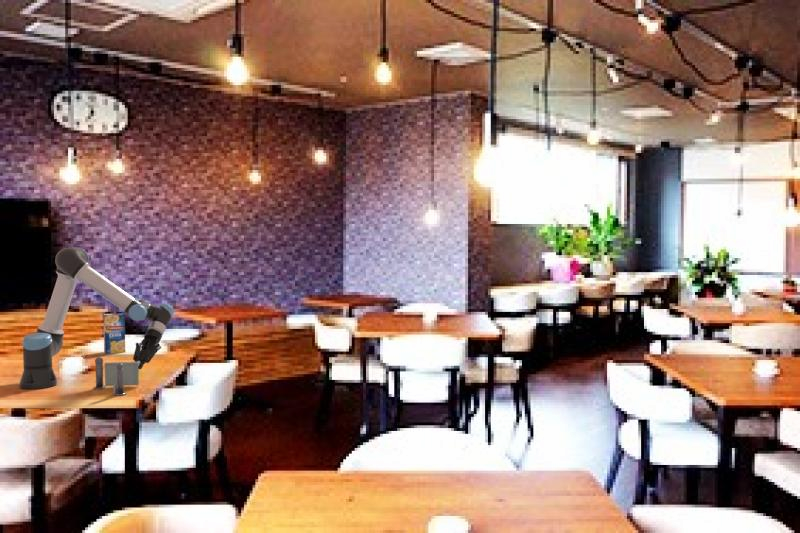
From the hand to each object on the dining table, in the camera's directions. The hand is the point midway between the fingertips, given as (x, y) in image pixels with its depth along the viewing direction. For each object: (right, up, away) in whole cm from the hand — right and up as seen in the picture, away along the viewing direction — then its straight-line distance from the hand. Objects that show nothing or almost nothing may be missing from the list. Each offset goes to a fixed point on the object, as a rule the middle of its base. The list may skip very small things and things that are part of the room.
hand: (133, 374), depth 323 cm
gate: (-4, -4, -5) cm, 7 cm away
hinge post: (-13, -5, -6) cm, 15 cm away
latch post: (+1, -6, -18) cm, 19 cm away
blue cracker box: (-44, -1, +88) cm, 98 cm away
